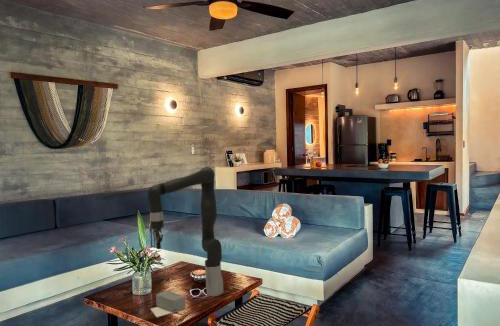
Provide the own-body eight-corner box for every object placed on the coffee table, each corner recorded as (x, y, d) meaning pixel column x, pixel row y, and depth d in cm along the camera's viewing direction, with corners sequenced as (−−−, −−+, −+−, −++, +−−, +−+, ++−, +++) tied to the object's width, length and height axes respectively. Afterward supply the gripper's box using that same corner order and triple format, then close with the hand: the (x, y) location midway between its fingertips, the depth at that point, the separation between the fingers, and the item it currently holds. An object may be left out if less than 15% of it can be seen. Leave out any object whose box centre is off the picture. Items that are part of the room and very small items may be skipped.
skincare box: (166, 290, 218) (185, 294, 208) (167, 302, 218) (186, 307, 208) (154, 294, 212) (173, 299, 202) (155, 307, 211) (174, 312, 202)
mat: (175, 302, 216) (175, 302, 216) (182, 310, 206) (182, 309, 206) (150, 309, 209) (150, 308, 209) (156, 317, 199) (156, 316, 199)
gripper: (166, 220, 220) (168, 249, 221) (159, 217, 231) (161, 245, 232) (153, 222, 216) (155, 252, 217) (147, 218, 227) (149, 247, 228)
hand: (158, 248), depth 224 cm, fingers closed
